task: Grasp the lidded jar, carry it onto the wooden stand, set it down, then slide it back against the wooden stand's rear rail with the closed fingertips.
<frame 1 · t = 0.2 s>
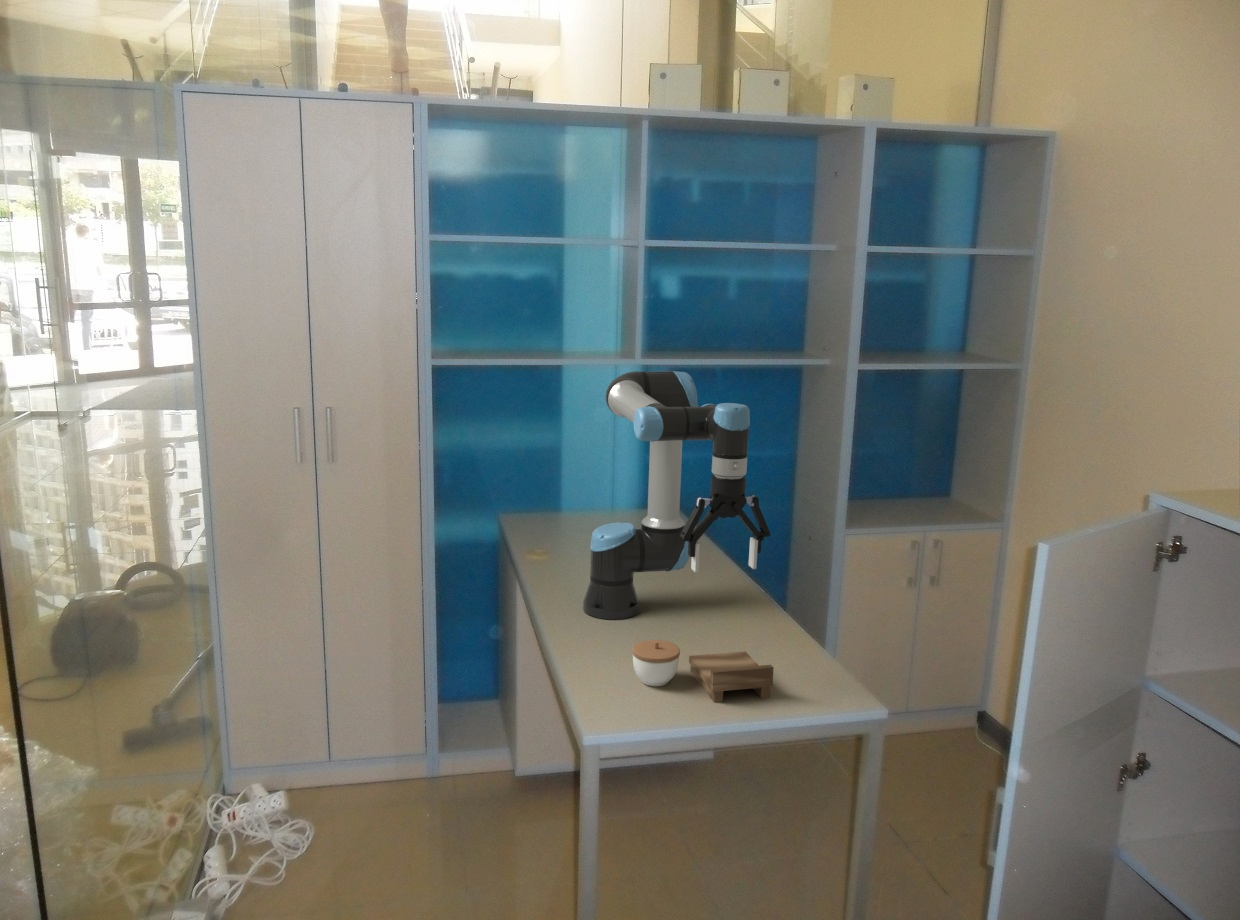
hand: (723, 568, 217), 27 cm above the table, fingers open, 13 cm apart
wooden stand: (728, 684, 222), on the table
lidded jar: (654, 681, 223), on the table
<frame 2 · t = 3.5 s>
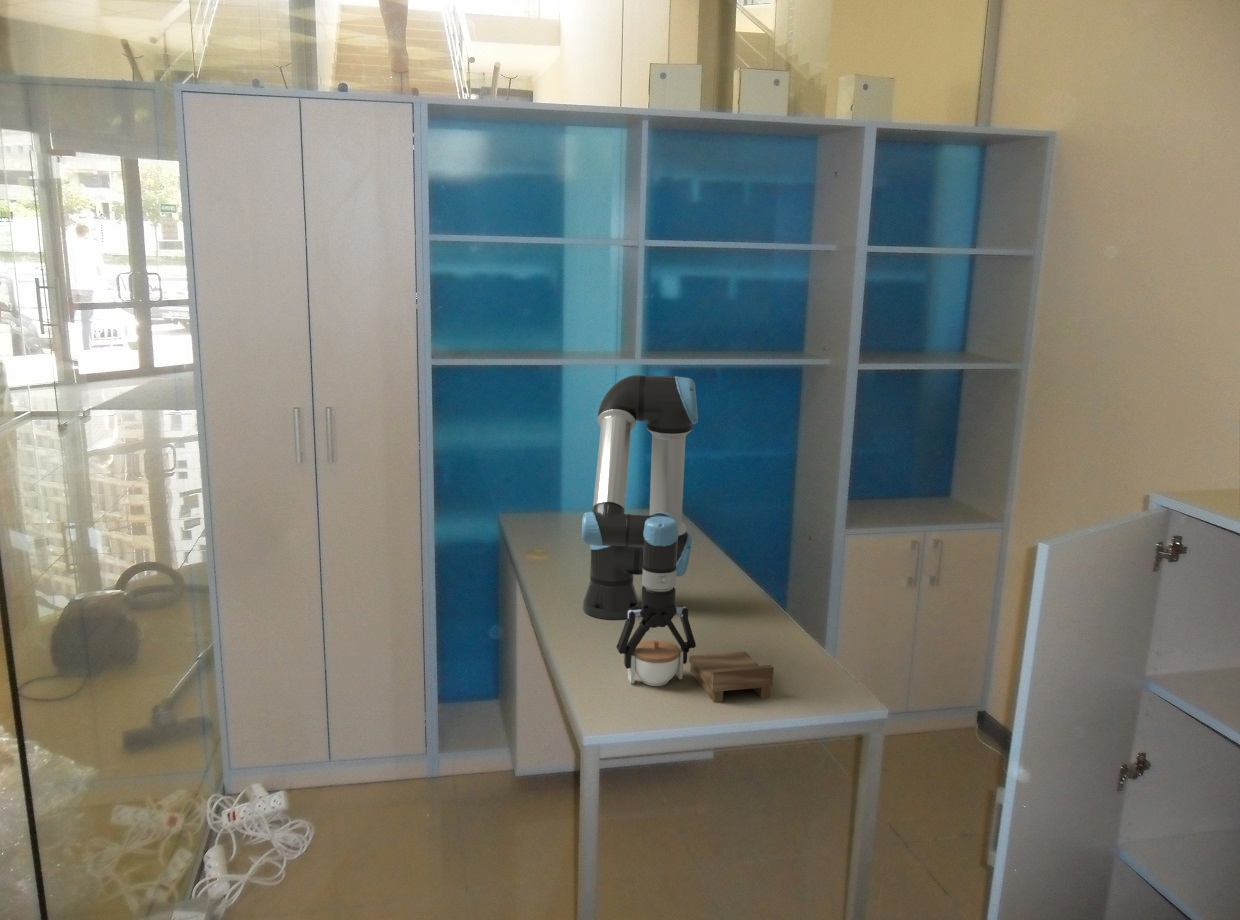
hand: (655, 678, 223), 0 cm above the table, fingers closed on lidded jar, 11 cm apart
lidded jar: (654, 681, 223), on the table, touching gripper
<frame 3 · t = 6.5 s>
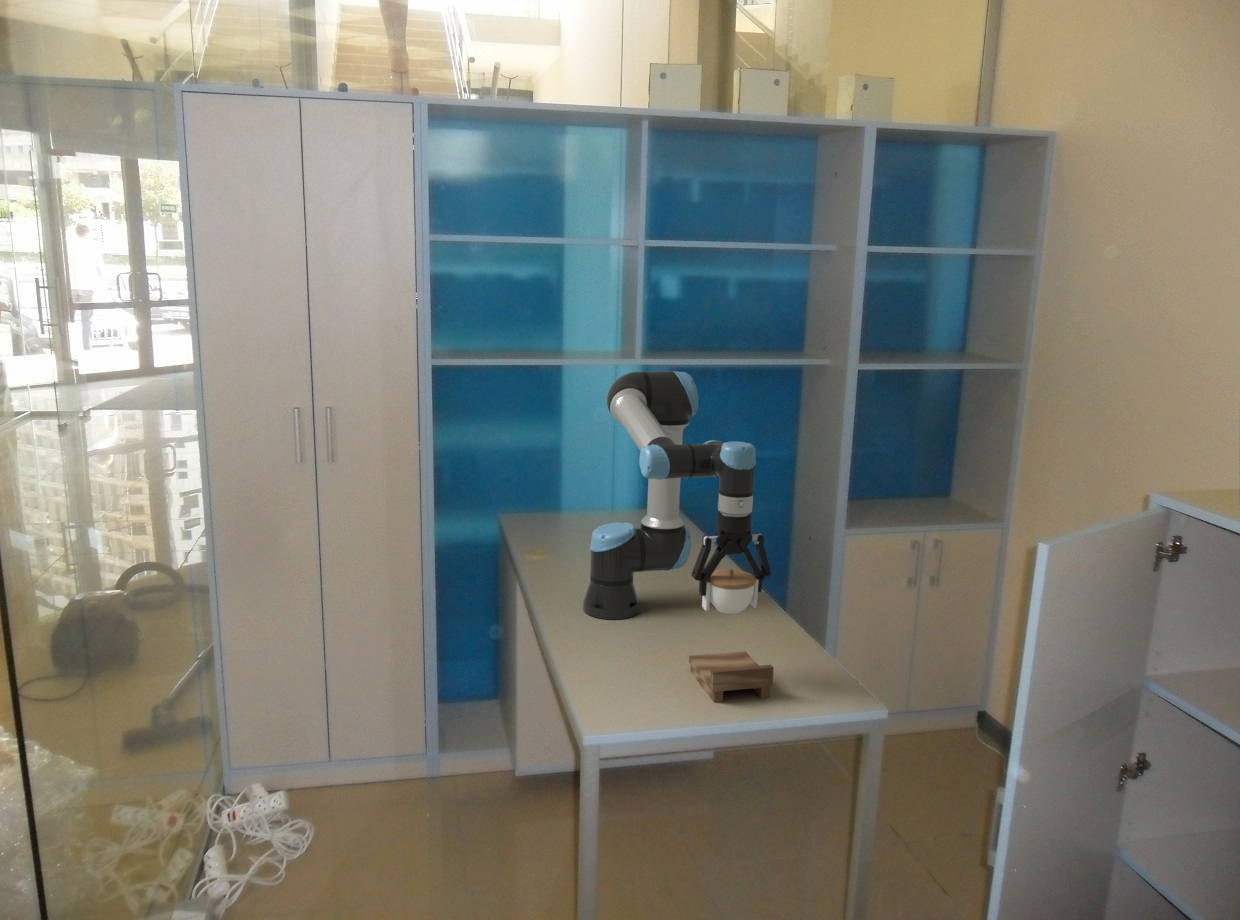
hand: (729, 607, 220), 18 cm above the table, fingers closed on lidded jar, 11 cm apart
lidded jar: (729, 610, 220), point 17 cm above the table, touching gripper
when the fingers open (6 cm above the table, at t = 9.6 s): lidded jar drops 1 cm, resting on wooden stand.
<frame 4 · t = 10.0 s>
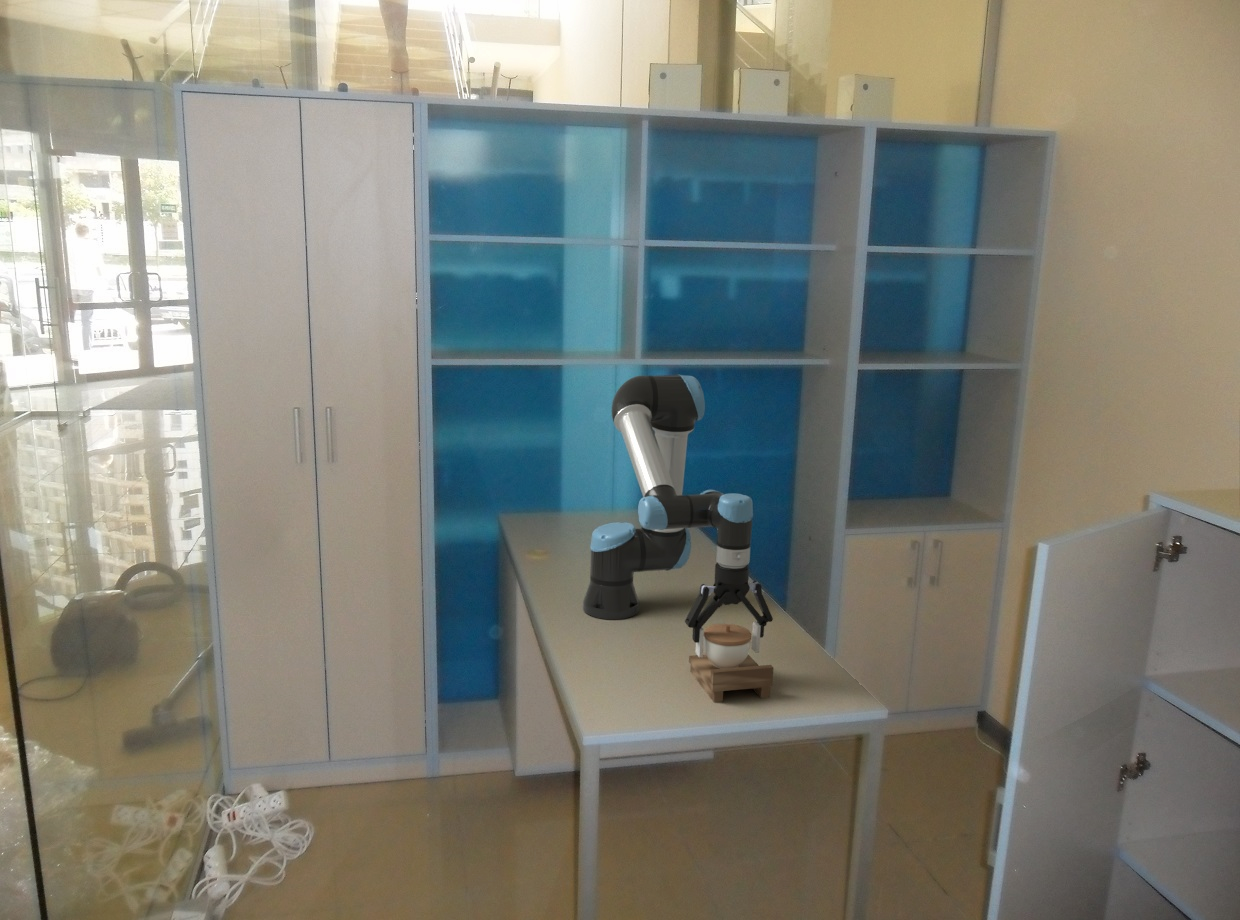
hand: (727, 652, 223), 7 cm above the table, fingers open, 13 cm apart
lidded jar: (725, 665, 223), point 4 cm above the table, touching wooden stand
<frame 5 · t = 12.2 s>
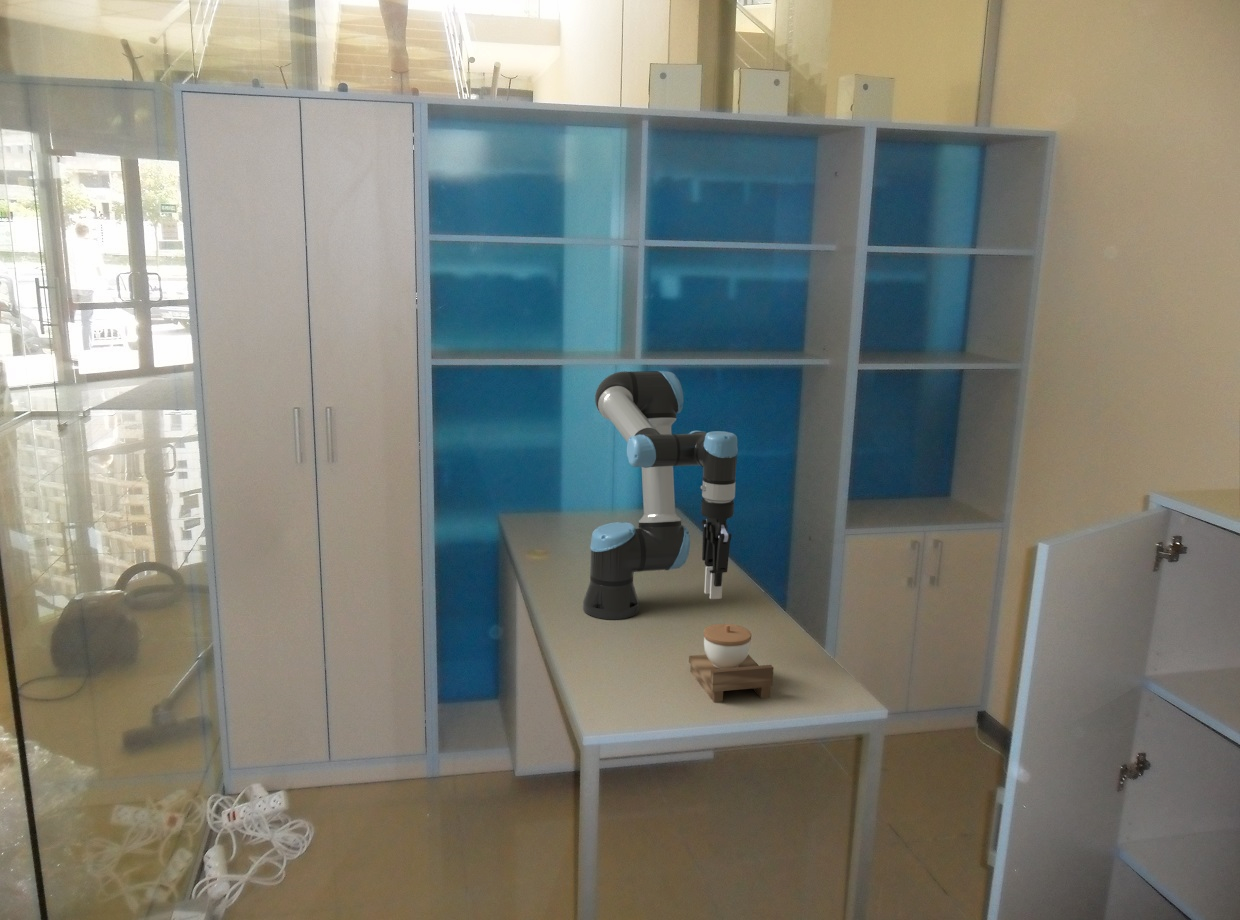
hand: (712, 595, 231), 17 cm above the table, fingers open, 3 cm apart
nothing on the table moved.
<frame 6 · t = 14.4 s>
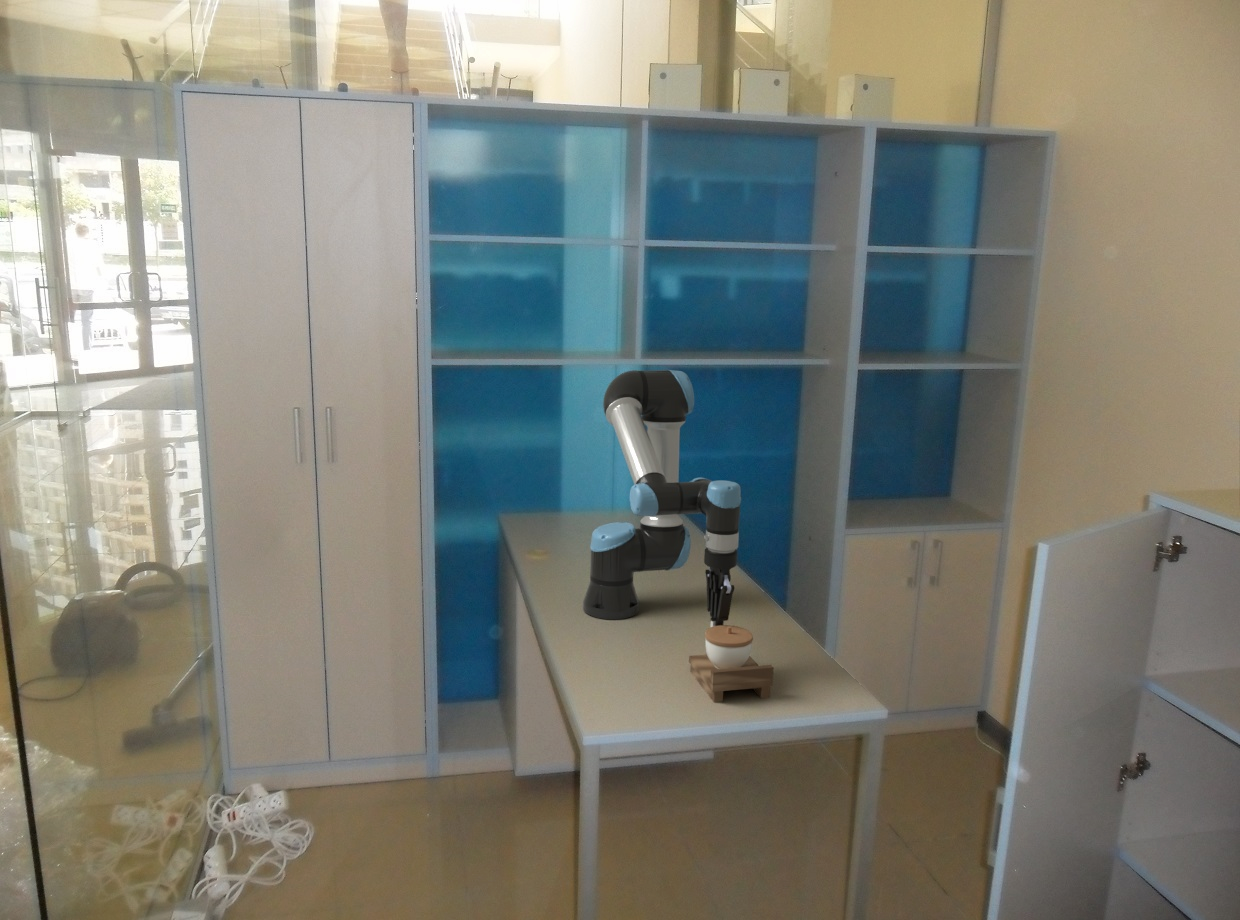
hand: (716, 644, 230), 6 cm above the table, fingers closed
lidded jar: (727, 666, 222), point 4 cm above the table, touching gripper
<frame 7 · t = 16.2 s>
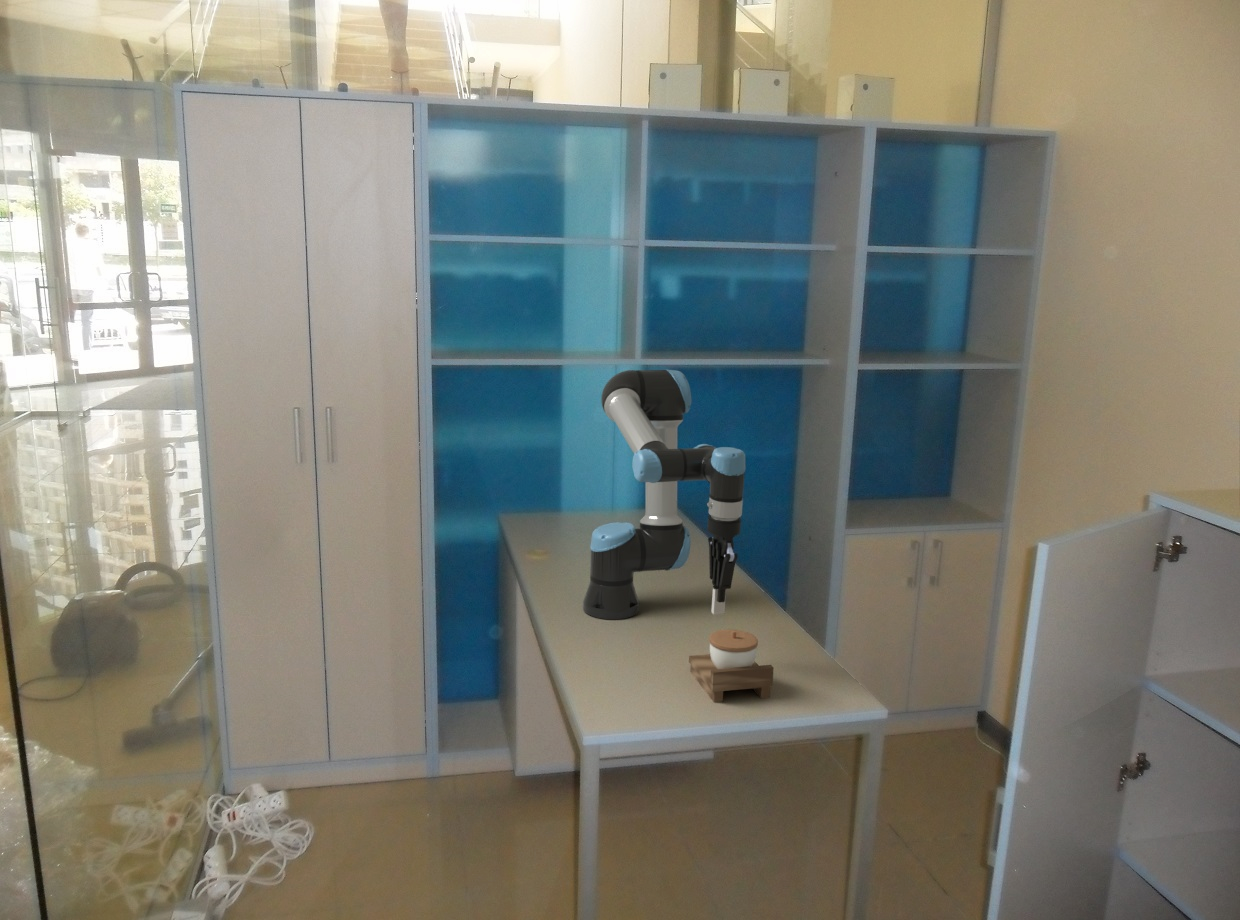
hand: (717, 612, 228), 14 cm above the table, fingers closed
lidded jar: (731, 671, 220), point 4 cm above the table, touching wooden stand
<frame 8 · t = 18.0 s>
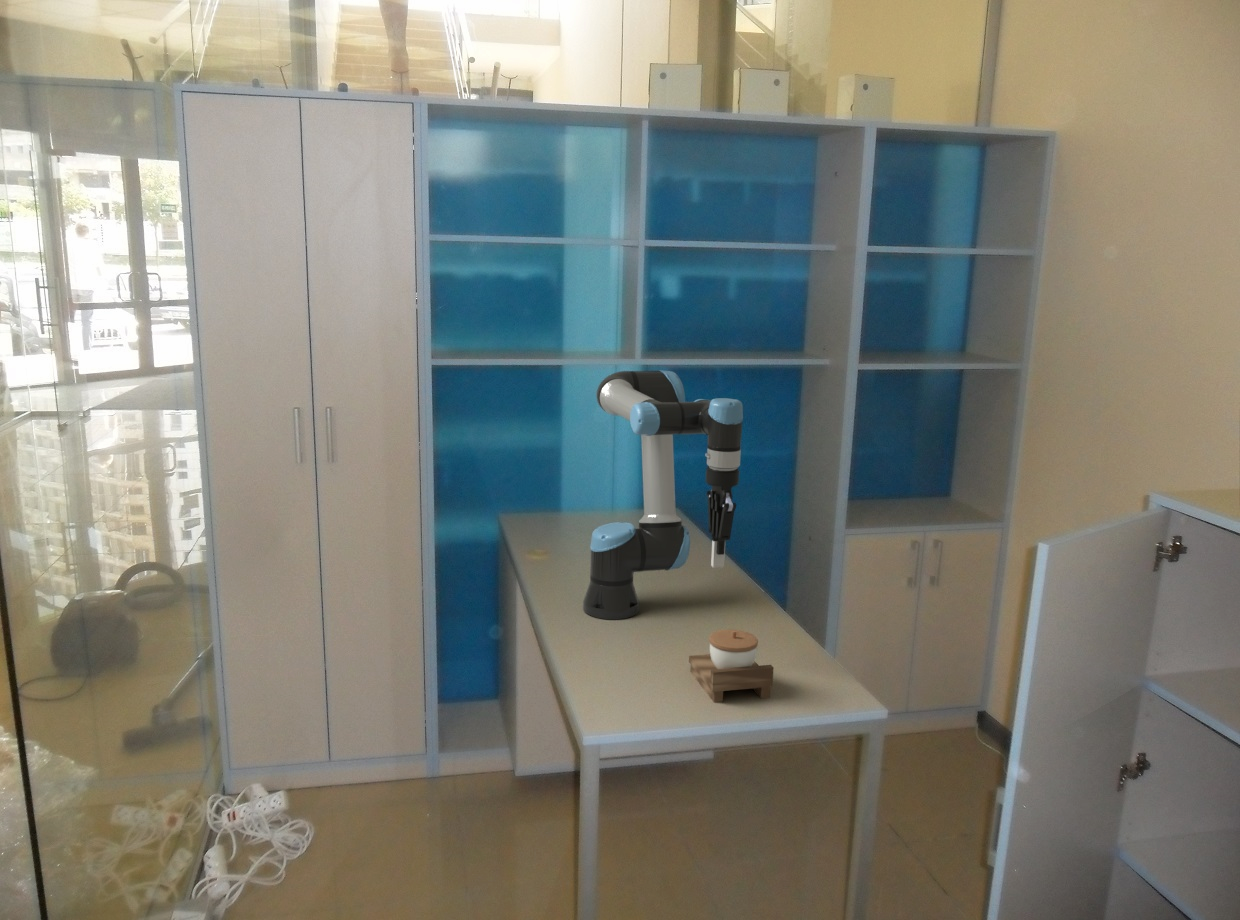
hand: (717, 566, 228), 24 cm above the table, fingers closed
nothing on the table moved.
at the end: lidded jar inside the target area (1.1 cm from its centre), point 3.8 cm above the table; lidded jar tilted 0°; the gripper is holding nothing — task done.
